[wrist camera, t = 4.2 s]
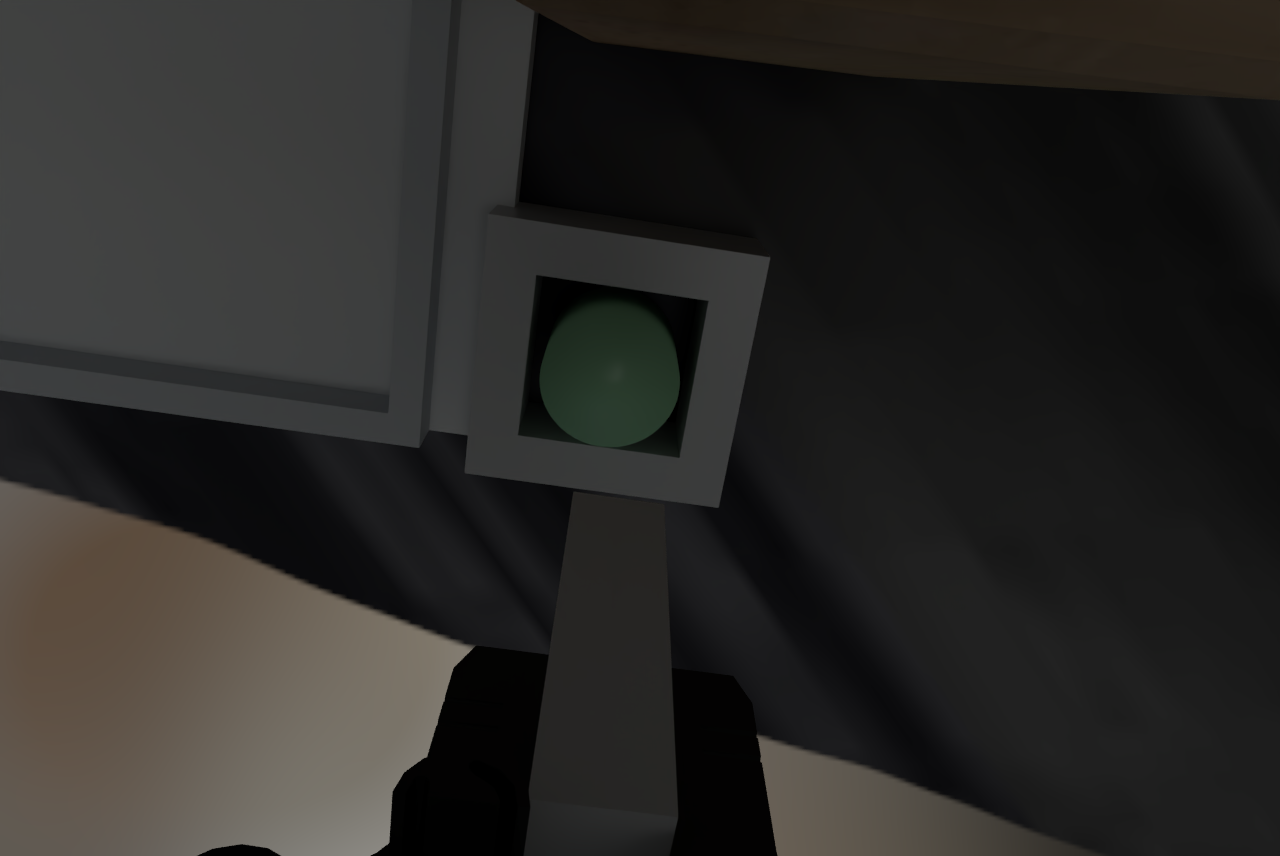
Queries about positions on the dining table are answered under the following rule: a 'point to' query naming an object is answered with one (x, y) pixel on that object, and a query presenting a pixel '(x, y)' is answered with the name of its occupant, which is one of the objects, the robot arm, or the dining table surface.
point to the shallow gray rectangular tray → (257, 204)
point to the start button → (610, 368)
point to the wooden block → (966, 39)
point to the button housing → (627, 258)
